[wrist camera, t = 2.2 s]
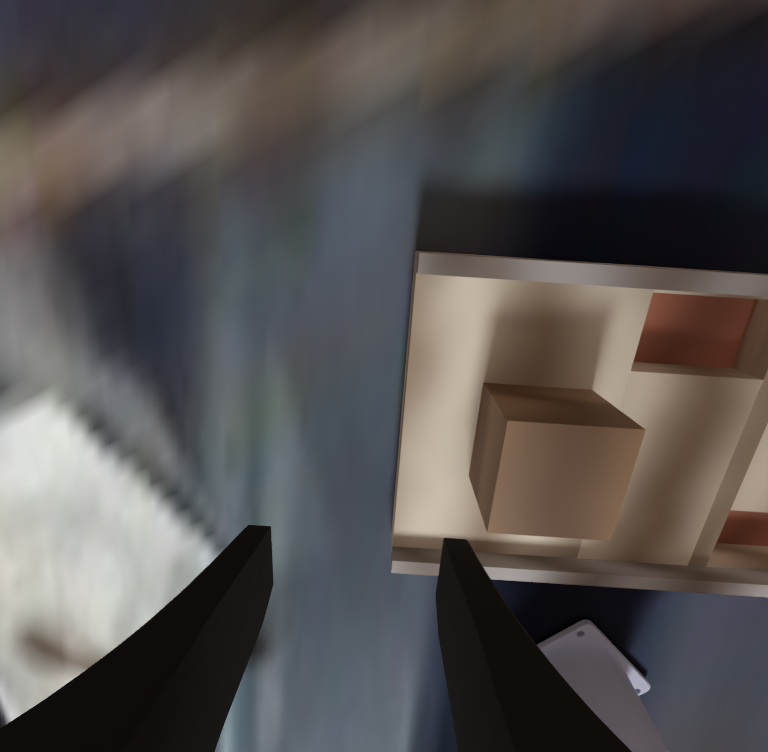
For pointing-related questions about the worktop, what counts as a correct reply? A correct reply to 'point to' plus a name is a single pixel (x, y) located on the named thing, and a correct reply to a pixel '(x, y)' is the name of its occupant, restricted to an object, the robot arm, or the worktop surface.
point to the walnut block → (551, 461)
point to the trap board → (616, 385)
